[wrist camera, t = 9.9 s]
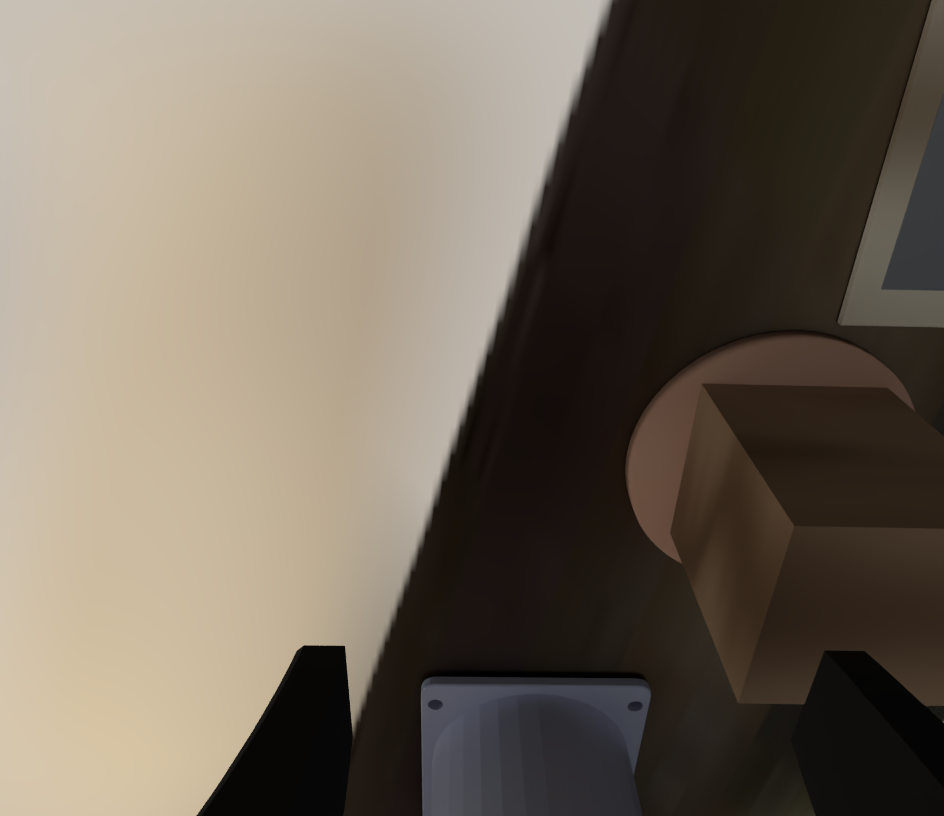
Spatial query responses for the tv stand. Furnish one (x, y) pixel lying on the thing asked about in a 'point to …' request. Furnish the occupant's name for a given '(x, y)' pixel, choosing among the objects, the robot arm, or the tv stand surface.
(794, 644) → the walnut block
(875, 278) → the board
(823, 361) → the coaster
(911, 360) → the tv stand surface
